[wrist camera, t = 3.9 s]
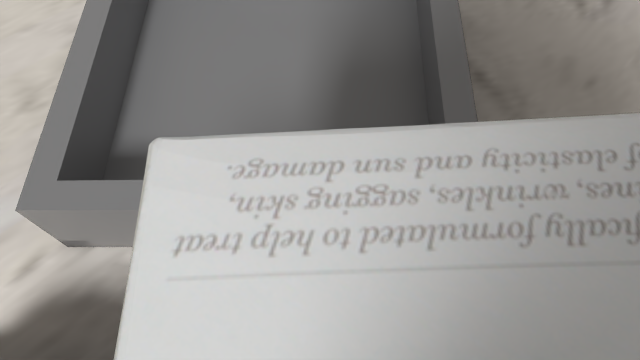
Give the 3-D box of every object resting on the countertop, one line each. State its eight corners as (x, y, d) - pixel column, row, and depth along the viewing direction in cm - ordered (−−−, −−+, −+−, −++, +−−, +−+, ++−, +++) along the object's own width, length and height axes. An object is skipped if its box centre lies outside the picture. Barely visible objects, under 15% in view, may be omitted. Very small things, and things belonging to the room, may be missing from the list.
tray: (67, 247, 17) (15, 210, 15) (141, -25, 24) (115, -84, 21) (468, 246, 17) (491, 207, 14) (431, -34, 23) (442, -98, 20)
